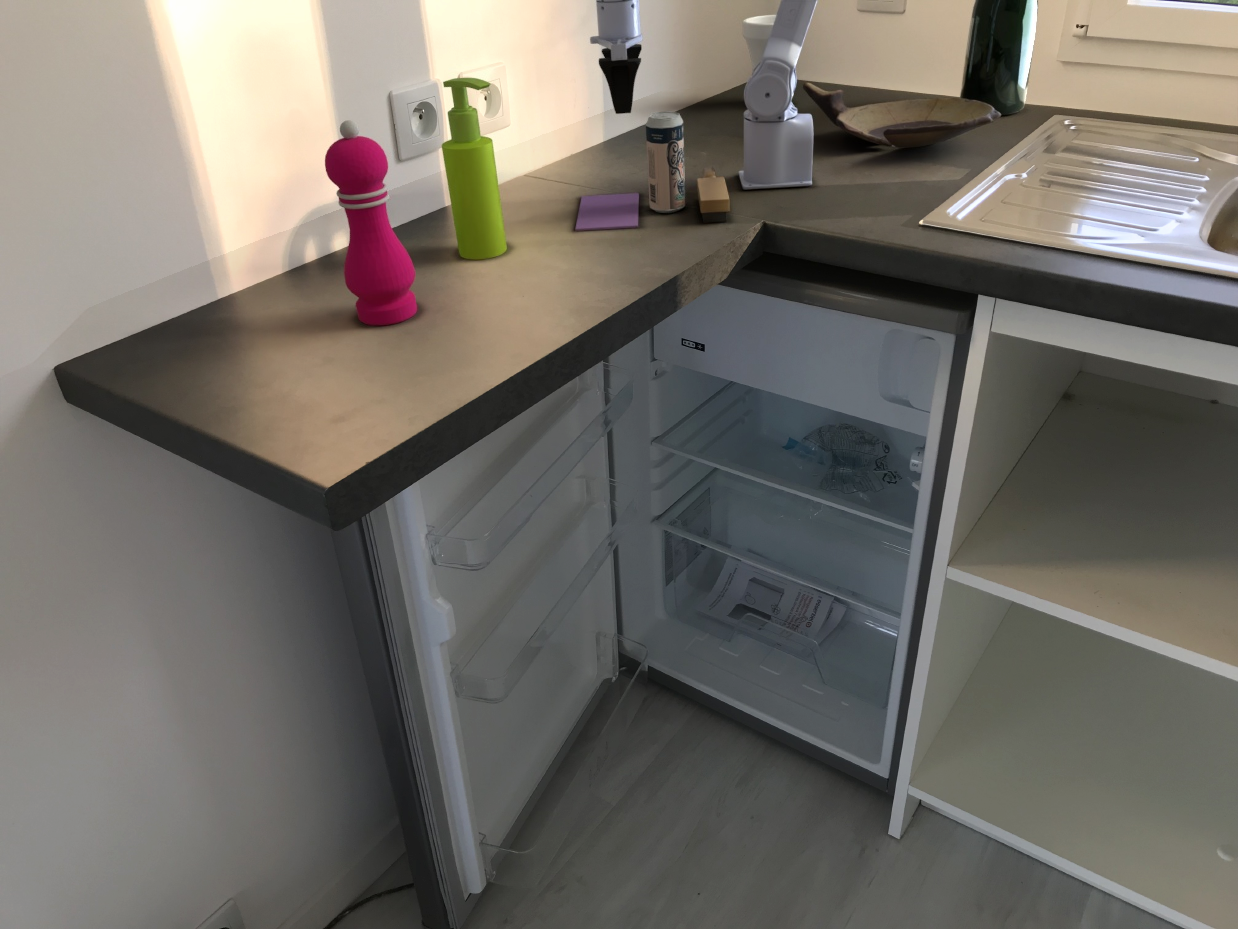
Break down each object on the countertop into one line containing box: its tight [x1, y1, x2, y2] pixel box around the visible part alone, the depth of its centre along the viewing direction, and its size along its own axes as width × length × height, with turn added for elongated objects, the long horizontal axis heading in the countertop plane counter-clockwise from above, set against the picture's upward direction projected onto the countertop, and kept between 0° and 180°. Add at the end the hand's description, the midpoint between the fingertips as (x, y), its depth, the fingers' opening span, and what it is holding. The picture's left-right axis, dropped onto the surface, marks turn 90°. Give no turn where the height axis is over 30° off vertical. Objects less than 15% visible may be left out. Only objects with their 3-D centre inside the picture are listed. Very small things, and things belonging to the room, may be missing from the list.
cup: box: [741, 14, 795, 102], centre depth 170 cm, size 11×11×14 cm
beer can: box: [645, 111, 686, 214], centre depth 122 cm, size 5×5×12 cm
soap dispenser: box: [441, 77, 508, 261], centre depth 110 cm, size 6×7×20 cm
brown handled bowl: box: [802, 82, 1002, 148], centre depth 144 cm, size 22×30×8 cm
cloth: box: [575, 192, 640, 232], centre depth 125 cm, size 8×14×1 cm, turn 178°
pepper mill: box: [324, 119, 418, 326], centre depth 95 cm, size 7×7×20 cm
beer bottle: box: [959, 0, 1039, 116], centre depth 150 cm, size 10×10×33 cm
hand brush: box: [696, 165, 730, 224], centre depth 125 cm, size 4×16×3 cm, turn 179°
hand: (623, 106), depth 131 cm, fingers open, 7 cm apart
